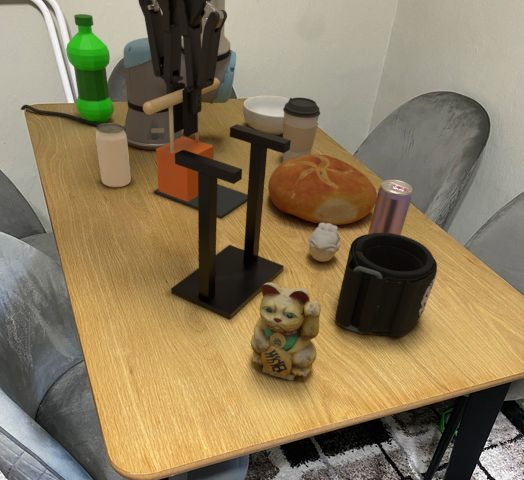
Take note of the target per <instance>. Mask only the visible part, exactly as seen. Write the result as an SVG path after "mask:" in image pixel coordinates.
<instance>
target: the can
mask: <svg viewBox="0 0 524 480" xmlns="http://www.w3.org/2000/svg"><path fill="white" fill-rule="evenodd" d="M123 126H124V125H121V124H119V123H115V122H106V123H104V124H101V125H98V126H96V131H95V143H96V151H97V158H98V165H99V173H100V180H101V183H102V184H103V185H104V186H106V187H109V188H113V189H115V188H124V187H127V186H128V185H129V184H130V183H131V181H132V176H131V166H130V165H131V164H130V158H129V157H130V156H129V155H130V154H129V145H128V144H127V136H126V133H125V131H124V127H123Z"/></svg>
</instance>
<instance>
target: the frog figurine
mask: <svg viewBox="0 0 524 480" xmlns="http://www.w3.org/2000/svg"><path fill="white" fill-rule="evenodd" d="M338 229H339V228H338V225H332V224H330V223H326V224H325V223H320V224H318V226H317V227H316V228H315V229H314V230H313V231H312V233H311V235H310V236H309V238H308V248H309V253H310V255H311V257H312V258H313V259H314V260H315V261H318V262H323V263H325V262H328V261H330V260H331V259H333V258H334V256H335V254H336V253H337V252H338V251H339V250H340V248H341V245H342V244H341V234H340V233H339V231H338Z"/></svg>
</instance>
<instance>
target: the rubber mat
mask: <svg viewBox="0 0 524 480" xmlns="http://www.w3.org/2000/svg"><path fill="white" fill-rule="evenodd" d="M153 194H155V195H157V196H160V197H163V198H166V199H168V200H170V201H173V202H176V203H179V204H181V205H184V206H187V207H190V208H192V209H195V210H198V196H197V197H195V198H194V199H192V200H190V201H189V202H187V201H184V200H182V199H179V198H176V197H173V196H171V195H168V194H165V193H163V192H160V191H159V189H158V188H157V189H155V190H153ZM247 195H248V193H245V192H241V191H238V190H236V189H232V188H230V187H227V186H224V185H221V184H218V183H217V218H219V219H223V218H225V217H226V216H227V215H229V214H231V212H233V211H234V210H236V209H237V208H239V207H241V206H242V205H243V204H245V203H247Z"/></svg>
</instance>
